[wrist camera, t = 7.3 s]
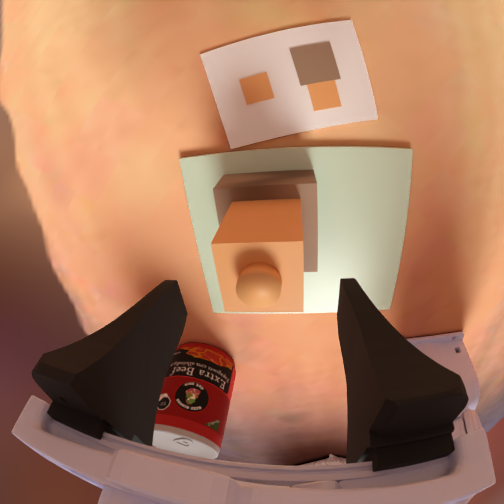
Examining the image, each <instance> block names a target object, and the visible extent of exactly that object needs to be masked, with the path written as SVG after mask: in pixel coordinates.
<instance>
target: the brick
mask: <svg viewBox="0 0 504 504" xmlns="http://www.w3.org/2000/svg"><path fill="white" fill-rule="evenodd" d="M211 248H212V253H213V258H214V263H215V268H216V273H217V277H218V282H219V287H220V292H221V296H222V301H223V305H224V310H225V312H304V253H303V226H302V210H301V199H276V200H254V201H236V202H232V203H231V205H230V207H229V209H228V211H227V213H226V214H225V216H224V218H223V220H222V222H221V224H220V226H219V228H218V230H217V232H216V234H215V236H214V238H213V240H212V242H211Z"/></svg>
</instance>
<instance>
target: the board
mask: <svg viewBox="0 0 504 504" xmlns="http://www.w3.org/2000/svg"><path fill="white" fill-rule="evenodd" d="M412 153H413V149H411V148H399V147H377V146H306V147H283V148H267V149H253V150H242V151H231V152H222V153H213V154H204V155H197V156H189V157H182V158H180V159H179V160H180V166H181V171H182V176H183V181H184V186H185V191H186V196H187V201H188V206H189V211H190V216H191V220H192V225H193V229H194V234H195V238H196V243H197V247H198V251H199V256H200V260H201V264H202V268H203V273H204V277H205V281H206V285H207V289H208V293H209V297H210V301H211V305H212V309H213V312H214V313H327V312H337V310H338V300H339V289H340V279H341V278H355V279H356V280H357V282H358V283H359V285H360V286H361V287H362V289H363V290H364V292H365V293H366V294H367V296H368V297H369V299H370V300H371V301H372V302H373V304H374V305H375V306H376V307H377V309H378V310H387V309H390V307H391V302H392V298H393V294H394V289H395V285H396V280H397V275H398V270H399V265H400V260H401V254H402V248H403V242H404V236H405V229H406V222H407V214H408V205H409V196H410V185H411V171H412ZM286 170H314V174H315V178H316V181H317V203H318V270H317V272H304V312H225V310H224V305H223V301H222V296H221V292H220V287H219V282H218V277H217V273H216V268H215V263H214V258H213V253H212V248H211V242H212V240H213V238H214V236H215V234H216V232H217V230H218V228H219V222H218V217H217V211H216V205H215V199H214V193H213V188H214V187H215V186H216V184H217V183H218V182H219V180H220V179H221V178H222V176H223V175H227V174H239V173H252V172H268V171H286Z"/></svg>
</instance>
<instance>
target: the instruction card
mask: <svg viewBox="0 0 504 504" xmlns="http://www.w3.org/2000/svg"><path fill="white" fill-rule="evenodd" d="M200 56H201V59H202V62H203V65H204V68H205V71H206V74H207V77H208V80H209V83H210V86H211V90H212V93H213V96H214V99H215V102H216V105H217V108H218V111H219V114H220V117H221V120H222V123H223V126H224V129H225V132H226V135H227V139H228V142H229V145H230V148H231V149H234V148H238V147H241V146H245V145H249V144H253V143H257V142H261V141H265V140H269V139H273V138H277V137H282V136H286V135H291V134H295V133H300V132H305V131H310V130H315V129H320V128H325V127H331V126H336V125H342V124H348V123H355V122H361V121H368V120H375V119H378V114H377V109H376V104H375V100H374V95H373V91H372V87H371V83H370V79H369V75H368V71H367V67H366V64H365V60H364V57H363V53H362V50H361V47H360V43H359V40H358V37H357V34H356V31H355V28H354V25H353V22H352V20H345V21H335V22H327V23H320V24H314V25H307V26H302V27H296V28H291V29H286V30H282V31H277V32H273V33H268V34H264V35H260V36H257V37H253V38H249V39H246V40H242V41H239V42H235V43H232V44H229V45H226V46H223V47H220V48H217V49H214V50H211V51H208V52H205V53H203V54H200Z"/></svg>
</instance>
